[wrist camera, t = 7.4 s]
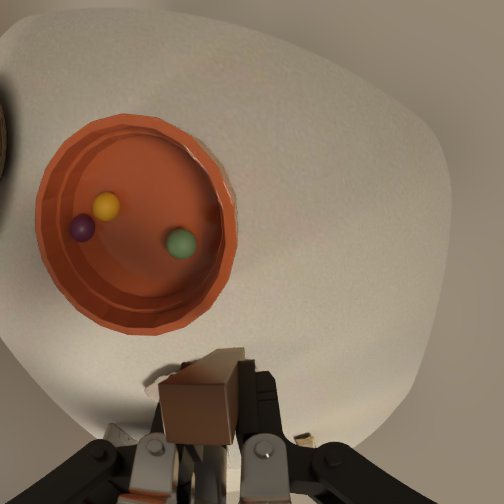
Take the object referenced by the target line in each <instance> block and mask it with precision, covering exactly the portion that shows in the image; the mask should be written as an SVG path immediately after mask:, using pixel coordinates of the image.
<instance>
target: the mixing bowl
mask: <svg viewBox="0 0 504 504" xmlns="http://www.w3.org/2000/svg"><path fill="white" fill-rule="evenodd" d="M103 192H111V193H113V194H115V195H116V196H117V198H118V199H119V202H120V211H119V213H118V215H117V216H116V218H114V219H113V220H111V221H108V222H103V221H100V220H99V219H97V218H96V217H95V215H94V213H93V209H92V206H93V202H94V200H95V198H96V197H97V196H98V195H99V194H101V193H103ZM78 215H87V216H89V217H90V218H91V219H92V220H93V222H94V225H95V232H94V235H93V237H92V238H91V239H90V240H89V241H87V242H83V243H80V242H77V241H75V240H74V239H73V238H72V236H71V234H70V224H71V221H72V220H73V219H74V218H75V217H76V216H78ZM35 229H36V230H35V231H36V236H37V241H38V245H39V249H40V253H41V257H42V260H43V262H44V265H45V267H46V269H47V271H48V272H49V274H50V276H51V278H52V280H53V282H54V284H55V286H56V287H57V288H58V290H59V291H60V292H61V293H62V294H63V295H64V296H65V298H66V299H67V300H68V301H69V302H70V303H71V304H72V305H73V306H74V308H75V309H76V310H78V311H79V312H80V313H82V314H83V315H85V316H86V317H88V318H89V319H91V320H92V321H94V322H95V323H97V324H98V325H101V326H103V327H105V328H108V329H111V330H114V331H117V332H120V333H124V334H127V335H149V336H157V335H160V334H164V333H167V332H170V331H174V330H177V329H180V328H184V327H186V326H187V325H188V324H190V323H191V322H193V321H194V320H195V319H197V318H198V317H199V316H201V315H202V314H203V313H205V312H206V311H207V310H209V309H210V308H211V306H212V305H213V303H214V302H215V300H216V299H217V297H218V296H219V294H220V293H221V291H222V290H223V288H224V287H225V285H226V284H227V282H228V280H229V276H230V272H231V268H232V265H233V261H234V257H235V253H236V249H237V242H238V218H237V204H236V195H235V193H234V190H233V188H232V185H231V183H230V180H229V178H228V175H227V173H226V171H225V168H224V166H223V165H222V163H221V162H220V161H219V160H218V159H217V158H216V156H215V155H214V154H213V153H212V152H211V151H210V150H209V148H208V147H207V146H206V145H205V144H204V143H203V142H202V141H201V140H199V139H198V138H196V137H194V136H192V135H190V134H189V133H187V132H185V131H183V130H181V129H180V128H178V127H176V126H174V125H172V124H170V123H168V122H166V121H164V120H162V119H160V118H157V117H150V116H142V115H133V114H124V113H123V114H118V115H114V116H111V117H107V118H103V119H100V120H96V121H93V122H90V123H89V124H87V125H86V126H84V127H83V128H82V129H80V130H79V131H77V132H76V133H75V134H73V135H72V136H71V137H69V138H68V139H67V140H65V141H64V143H63V144H62V145H61V147H60V148H59V149H58V151H57V152H56V154H55V155H54V157H53V158H52V159H51V161H50V162H49V164H48V165H47V167H46V169H45V172H44V175H43V178H42V181H41V184H40V187H39V191H38V194H37V198H36V212H35ZM176 229H187V230H189V231H190V232H191V233H192V234H193V235H194V236H195V238H196V243H197V245H196V250H195V252H194V253H193V255H192V256H190V257H189V258H187V259H182V260H180V259H176V258H174V257H172V256H171V255H170V254H169V253H168V251H167V248H166V240H167V237H168V236H169V234H170V233H171V232H172V231H174V230H176Z"/></svg>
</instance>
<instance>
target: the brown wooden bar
mask: <svg viewBox="0 0 504 504" xmlns="http://www.w3.org/2000/svg"><path fill="white" fill-rule="evenodd" d="M240 360H245V350H244V347H241V348H224V349H216V350H215V351H213V352H211V353H210V354H208V355H206V356H205V357H203V358H201V359H200V360H198V361H196V362H195V363H193V364H191V365H190V366H188V367H186V368H184V369H183V370H181V371H179V372H178V373H176V374H174V375H172V376H171V377H169V378H167V379H165V380H163V381H162V382H160V383H158V392H159V400H160V407H161V413H162V420H163V426H164V432H165V437H166V442H167V443H175V444H191V445H232V444H233V440H234V435H235V430H236V425H237V420H238V414H239V361H240Z"/></svg>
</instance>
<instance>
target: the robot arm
mask: <svg viewBox="0 0 504 504" xmlns="http://www.w3.org/2000/svg"><path fill="white" fill-rule="evenodd" d="M193 363H195V362H183V363H182V364H181V368H180V371H181V370H183V369H184V368H186V367H188V366H190V365H191V364H193ZM172 375H174V374H171V375H170V376H169V377H171V376H172ZM169 377H168V378H169ZM236 438H237V441H238V445H239V449H240V453H241V482H240V501H239V503H238V504H291V500H290V493H296V494H304V495H308V496H309V497H310V498H312V499H313V500H314V501H315V502H316V503H317V504H437V503H436V502H434V501H432V500H430V499H428V498H427V497H425V496H423V495H421V494H420V493H418V492H416V491H415V490H413V489H411V488H410V487H408V486H407V485H405V484H403V483H402V482H400V481H399V480H397V479H395V478H394V477H392V476H391V475H389V474H388V473H386V472H385V471H383V470H382V469H380V468H379V467H377V466H376V465H375V464H373V463H372V462H370V461H369V460H367V459H366V458H365V457H363V456H362V455H360V454H359V453H358V452H356V451H355V450H354V449H352V448H351V447H350V446H348V445H347V444H344V443H341V442H329V443H325V444H323V445H321V446H319V447H318V448H312V447H303V446H298V445H295V444H293V443H291V442H290V441H289V440H288V439H287V438H286V437H285V436H284V434H283V431H282V424H281V417H280V410H279V403H278V396H277V389H276V382H275V379H274V377H273V376H272V375H271V373H270V372H269V371H261V372H256V371H255V361H254V360H240V361H239V414H238V420H237V425H236ZM227 451H228V457H229V450H228V445H191V444H175V443H167V442H166V437H165V432H164V426H163V420H162V413H161V407H160V400H159V402H158V405H157V408H156V412H155V416H154V420H153V423H152V427H151V431H150V433H149V434H147V435H145V436H144V437H142V438H141V439H140V441H139V442H138V444H135V445H128V446H120V447H115V446H114V445H113V444H112V443H111V442H110V441H108V440H105V439H97V440H93V441H91V442H90V443H88V444H87V445H86V446H84V447H83V448H82V449H81V450H79V451H78V452H77V453H76V454H74V455H73V456H71V457H70V458H69V459H68V460H66V461H65V462H64V463H62V464H61V465H60V466H58V467H57V468H56V469H54V470H53V471H51V472H50V473H49V474H47V475H46V476H45V477H44V478H42V479H40V480H39V481H38V482H36V483H35V484H33V485H32V486H31V487H29V488H28V489H26V490H25V491H24V492H22V493H20V494H19V495H18V496H16V497H14V498H13V499H12V500H10V501H8V502H7V503H5V504H226V478H227Z"/></svg>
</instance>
